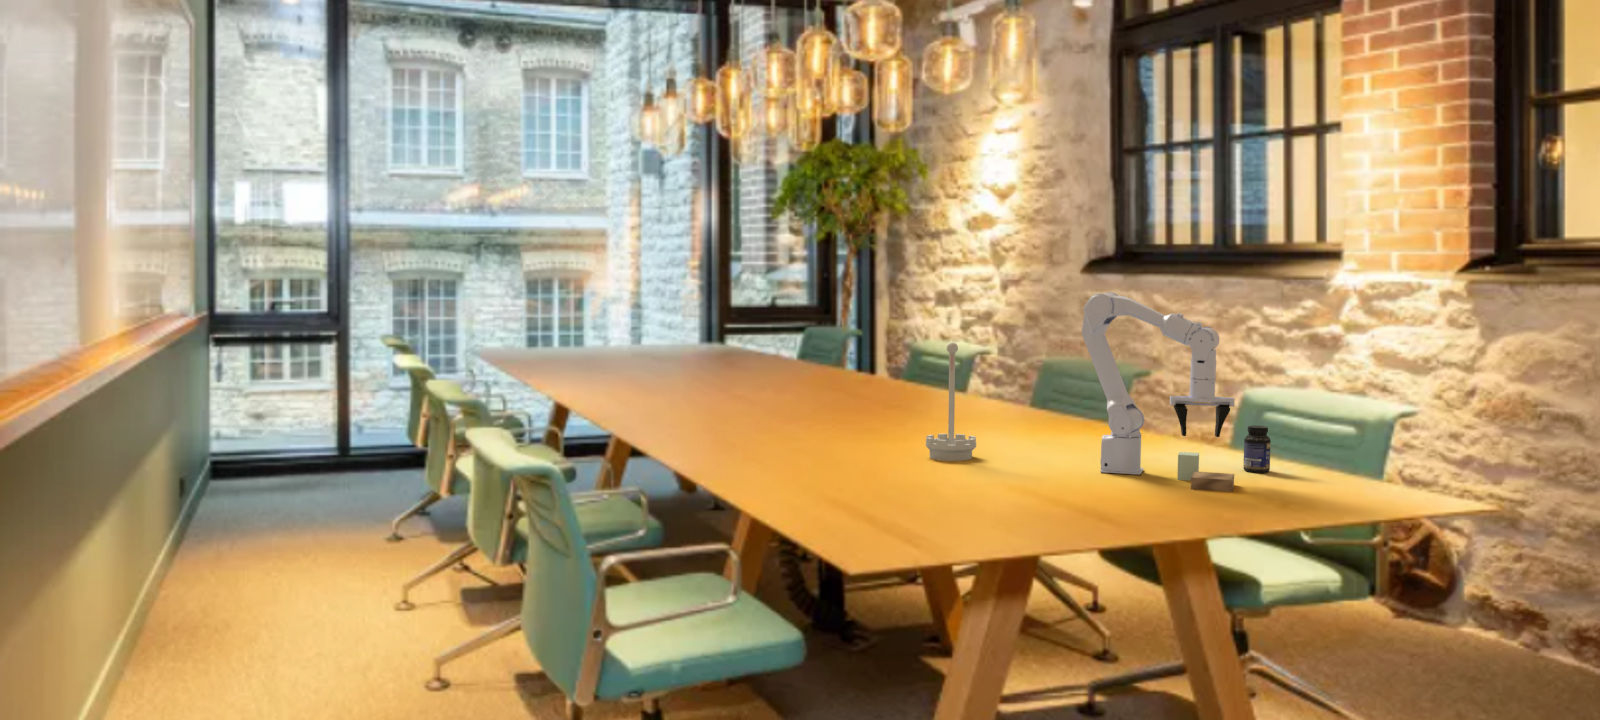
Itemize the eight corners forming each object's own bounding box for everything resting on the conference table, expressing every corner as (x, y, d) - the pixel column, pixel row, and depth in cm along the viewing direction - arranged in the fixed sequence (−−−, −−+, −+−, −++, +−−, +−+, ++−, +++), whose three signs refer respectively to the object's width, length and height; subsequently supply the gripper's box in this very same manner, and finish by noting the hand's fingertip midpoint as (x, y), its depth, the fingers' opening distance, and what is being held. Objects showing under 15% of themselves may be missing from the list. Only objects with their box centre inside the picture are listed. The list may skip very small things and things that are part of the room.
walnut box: (1190, 490, 295) (1191, 477, 295) (1193, 484, 304) (1193, 471, 303) (1232, 493, 292) (1232, 480, 292) (1233, 486, 301) (1234, 473, 300)
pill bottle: (1271, 473, 315) (1273, 428, 314) (1245, 472, 317) (1246, 427, 316) (1267, 469, 321) (1269, 425, 320) (1241, 468, 323) (1243, 424, 322)
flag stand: (926, 452, 346) (927, 340, 343) (976, 454, 344) (977, 341, 341) (924, 461, 333) (925, 344, 330) (975, 462, 331) (977, 344, 328)
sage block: (1177, 479, 307) (1178, 454, 307) (1178, 476, 311) (1179, 451, 311) (1197, 481, 305) (1198, 455, 305) (1198, 477, 310) (1199, 453, 309)
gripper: (1173, 379, 303) (1171, 437, 304) (1238, 381, 301) (1235, 439, 303) (1169, 376, 310) (1166, 433, 311) (1231, 378, 308) (1229, 434, 310)
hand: (1200, 436), depth 307 cm, fingers open, 7 cm apart
